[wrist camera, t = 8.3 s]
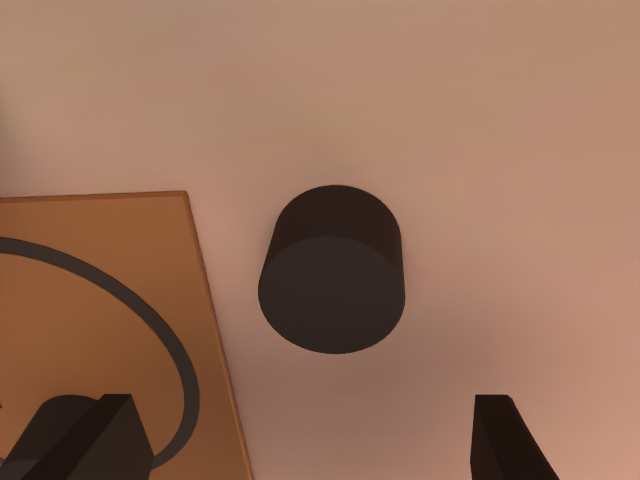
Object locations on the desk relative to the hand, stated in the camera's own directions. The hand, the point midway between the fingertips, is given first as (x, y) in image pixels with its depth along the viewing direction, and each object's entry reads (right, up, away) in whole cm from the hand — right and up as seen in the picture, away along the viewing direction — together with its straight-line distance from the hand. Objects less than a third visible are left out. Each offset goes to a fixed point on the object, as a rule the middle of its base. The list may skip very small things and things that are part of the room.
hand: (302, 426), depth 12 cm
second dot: (+1, +4, +6) cm, 7 cm away
